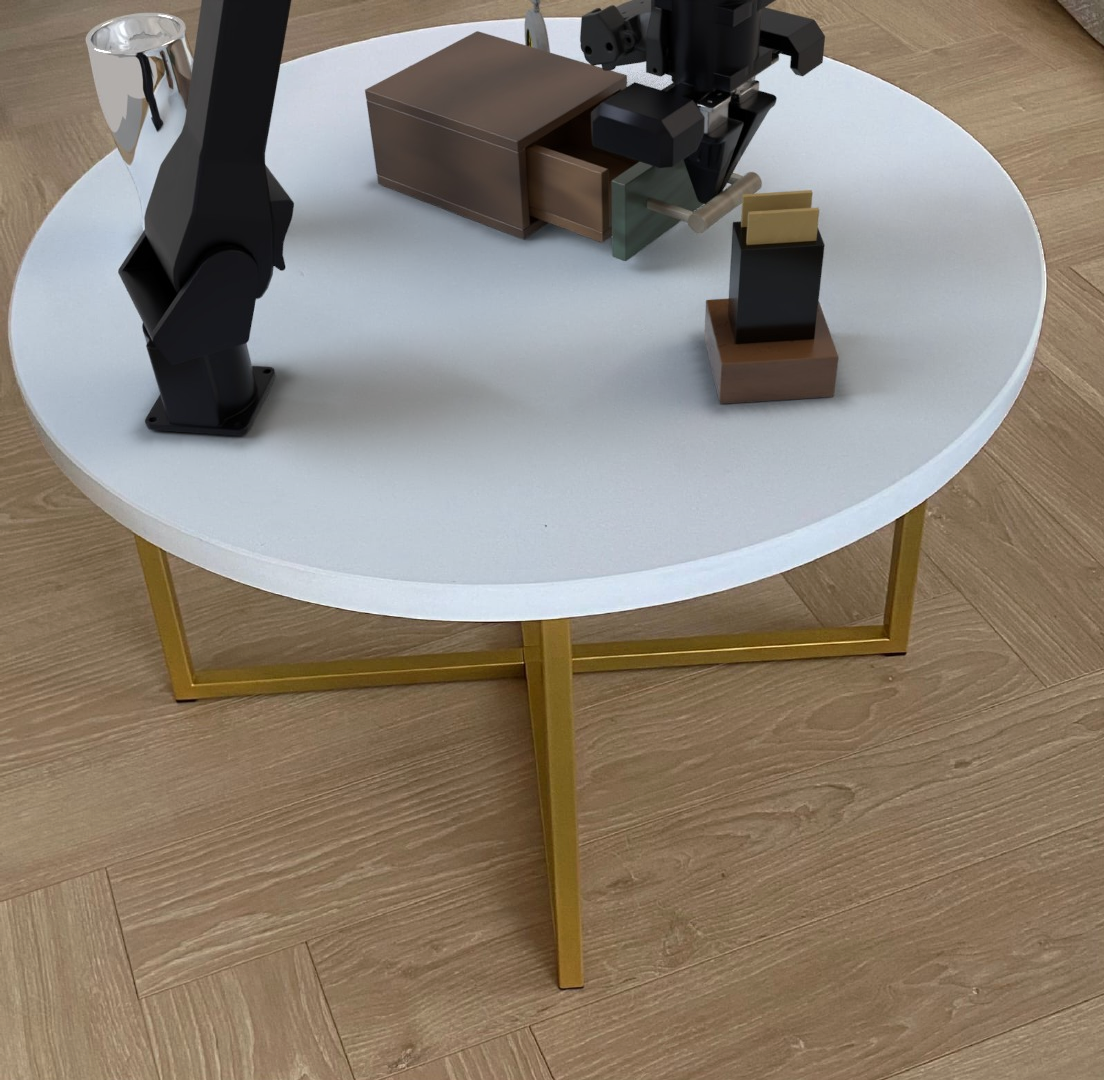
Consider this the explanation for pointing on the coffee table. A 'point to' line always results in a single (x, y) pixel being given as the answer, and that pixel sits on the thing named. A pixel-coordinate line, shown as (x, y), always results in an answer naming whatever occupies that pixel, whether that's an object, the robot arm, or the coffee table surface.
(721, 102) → the robot arm
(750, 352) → the stand
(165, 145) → the silver metal cup
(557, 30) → the coffee table surface
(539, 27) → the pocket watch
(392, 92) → the cabinet
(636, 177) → the drawer
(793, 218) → the black toaster with toast
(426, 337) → the coffee table surface
